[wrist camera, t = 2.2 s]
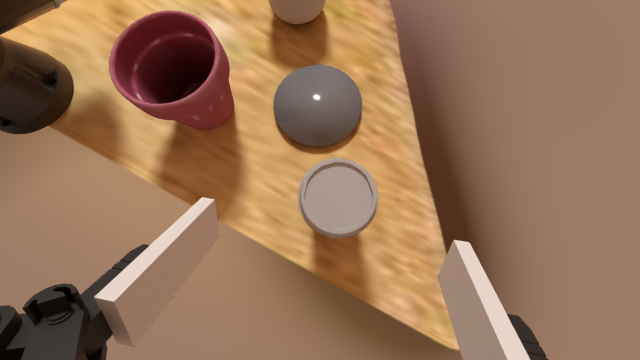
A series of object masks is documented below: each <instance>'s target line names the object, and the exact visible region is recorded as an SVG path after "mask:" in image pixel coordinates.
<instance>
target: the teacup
mask: <svg viewBox="0 0 640 360" xmlns="http://www.w3.org/2000/svg"><path fill="white" fill-rule="evenodd" d="M269 3H270V5H271V7H272V9H273V11H274V12H275V14H276V15H277V16H278V17H279V18H280V19H282V20H283V21H285V22H288V23H291V24H303V23H307V22H309V21H311V20H313V19H314V18H316V17H317V16H318V15H319V13H320V12H321V11H322V9H323V7H324V4H325V0H269Z"/></svg>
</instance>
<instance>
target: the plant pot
mask: <svg viewBox="0 0 640 360" xmlns="http://www.w3.org/2000/svg"><path fill="white" fill-rule="evenodd" d="M109 71H110V76H111V79H112V81H113V83H114V85H115V87H116V88H117V90H118V91H119V92H120V93H121V94H122V95H123V96H124V97H125V98H126V99H127V100H129V101H130V102H131V103H133V104H134V105H135V106H137V107H138V108H139V109H141V110H142V111H144V112H146V113H147V114H149V115H151V116H153V117H156V118H159V119H164V120H175V121H178V122H180V123H183V124H185V125H188V126H191V127H193V128H196V129H200V130H209V129H214V128H217V127H219V126H220V125H222V124H223V123H225V122H226V121H227V120H228V118H229V117H230V115H231V113H232V111H233V106H234V101H233V96H232V93H231V89H230V84H229V80H228V79H229V71H230V68H229V61H228V58H227V55H226V53H225V51H224V49H223V47H222V45H221V44H220V42H219V40H218V38H217V37H216V35H215V34H214V32H213V31H212V29H211V28H210V27H209V26H208V25H207V24H206V23H205V22H204V21H202V20H201V19H199V18H198V17H196V16H194V15H191V14H189V13H186V12H181V11H160V12H156V13H152V14H149V15H147V16H144V17H142V18H140V19H139V20H137V21H135V22H134V23H132V24H131V25H130V26H129V27H127V28H126V29H125V30H124V31H123V32H122V34H121V35H120V36H119V37H118V39H117V40H116V42H115V44H114V46H113V48H112V51H111V54H110V59H109Z"/></svg>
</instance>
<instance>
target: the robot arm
mask: <svg viewBox="0 0 640 360" xmlns="http://www.w3.org/2000/svg"><path fill="white" fill-rule="evenodd" d="M65 1H67V0H0V35H1V34H3V33H5V32H7V31H9V30H11V29H13V28H15V27H17V26H19V25H22V24H24V23H26V22H28V21H30V20H32V19H34V18H36V17H38V16H40V15H42V14H45V13H47V12H49V11H51V10H53V9H55V8H59V7H60V4H62V3H64V2H65ZM72 92H73V80H72V76H71V74H70V72H69V70H68V69H67V68H66V66H65V65H63V64H62V63H61V62H59V61H58V60H56V59H55V58H53V57H52V56H50V55H49V54H47V53H45V52H43V51H40V50H38V49H35V48H32V47H29V46H27V45H24V44H21V43H18V42H15V41H13V40H10V39H7V38H4V37H2V36H0V130H1V131H4V132H7V133H11V134H26V133H31V132H34V131H37V130H40V129H42V128H44V127H46V126H48V125H49V124H51V123H52V122H53V121H55V120H56V119H57V118H58V117H59V116H60V115H61V114H62V113H63V111H64V110H65V109H66V107H67V105H68V103H69V101H70V99H71V96H72ZM218 238H219V228H218V221H217V213H216V205H215V199H210V198H204V197H202V198H201V199H200V200H199V201H197V202H196V203H195V204H194V205H193V206H192V207H191V208H190V209H189V210H188V211H187V212H186V213H185V214H183V215H182V216H181V217H180V218H179V219H178V220H177V221H176V222H175V223H174V224H173V225H172V226H170V227H169V228H168V229H167V230H166V231H165V232H164V233H163V234H162V235H161V236H160V237H158V238H157V240H155V241H154V242H153V243H152V244H151V245H145V244H143V245H141V246H139V247H137V248H136V249H134V250H132V251H130V252H129V253H128V254H127V255H126V256H124V257H123V258H122V259H121V261H120V262H118V263H116V264H115V265H114V266H113V267H112V269H110V270H108V271H107V272H106V273H105V274H104V275H103V276H102V277H100V278H99V279H98V280H97V281H96V282H95V283H93V284H92V285H91V286H90V287H89V288H88V289H87V290H85V291H84V292H83V293H82V294H81V295H80V294H79V292H78V291H77V289H76V287H75V286H73V285H72V284H59V285H54V286H52V287H49V288H46V289H44V290H42V291H41V292H39V293H37V294H35V295H34V296H33V297H32V298H31V299H29V300H28V301H27V302H26V304H25V305H24V307H23V310H24V311H25V312H26V314H18V313H17V311H16V310H15V309H14V308H13V307H11V306H0V360H106V354H107V345H106V341H107V340H108V339H109V338H110V337H111V335H113V336H114V338H115V340H116V342H117V343H119V344H124V345H128V346H132V347H135V346H136V345H137V344H138V342H139V341H140V340H141V338H142V337H143V336H144V334H145V333H146V332H147V331H148V329H149V328H150V327H151V325H152V324H153V323H154V321H155V320H156V319H157V318H158V316H159V315H160V314H161V312H162V311H163V310H164V308H165V307H166V306H167V304H168V303H169V302H170V301H171V299H172V298H173V297H174V295H175V294H176V292H177V291H178V290H179V289H180V288H181V286H182V285H183V284H184V282H185V281H186V280H187V278H188V277H189V276H190V275H191V273H192V272H193V271H194V269H195V268H196V267H197V265H198V264H199V263H200V261H201V260H202V259H203V258H204V256H205V255H206V254H207V252H208V251H209V250H210V248H211V247H212V246H213V244H214V243H215V242H216V241H217V239H218ZM438 280H439V283H440V287H441V290H442V293H443V297H444V300H445V303H446V306H447V310H448V313H449V316H450V319H451V323H452V326H453V329H454V332H455V336H456V339H457V342H458V345H459V349H460V352H461V355H462V359H463V360H548V359H547V358H546V355H545V353H544V351H543V350H542V348H541V347H540V346H539V343H538V341H537V339H536V338H535V336H534V334H533V332H532V331H531V329H530V328H529V327H528V326H527V325H526V324H525V323H524V322H523V321H522V319H521V318H520V317H519V316H515V315H510V314H506V312H505V310H504V308H503V307H502V305H501V303H500V301H499V299H498V297H497V295H496V293H495V291H494V289H493V287H492V285H491V283H490V281H489V280H488V278H487V276H486V274H485V272H484V270H483V268H482V266H481V264H480V262H479V260H478V259H477V256H476V255H475V253H474V251H473V249H472V247H471V245H470V243H469V242H463V241H457V240H454V241H453V243H452V245H451V247H450V250H449V252H448V254H447V256H446V259H445V261H444V263H443V265H442V268H441V270H440V272H439V275H438Z"/></svg>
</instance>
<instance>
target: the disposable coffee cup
mask: <svg viewBox="0 0 640 360" xmlns="http://www.w3.org/2000/svg"><path fill="white" fill-rule="evenodd" d="M298 205H299V210H300V212H301V215H302V217H303V218H304V220H305V221H306V223H307V224H308V225H309V226H310V227H311V228H312V229H313V230H315V231H316V232H318V233H319V234H322V235H324V236H327V237H331V238H346V237H351V236H353V235H356V234H358V233H359V232H361V231H362V230H364V229H365V228H366V227H367V226H368V225H369V224H370V223H371V221H372V219H373V218H374V216H375V214H376V211H377V207H378V191H377V187H376V184H375V181H374V180H373V178H372V176H371V175H370V174H369V172H368V171H367V170H366V169H364V168H363V167H362V166H361V165H359V164H357V163H356V162H353V161H351V160H347V159H341V158H333V159H328V160H324V161H322V162H320V163H318V164H316V165H315V166H313V167H312V168H311V169H310V170H309V171H308V172H307V173H306V174H305V175H304V177H303V179H302V181H301V183H300V186H299V190H298Z"/></svg>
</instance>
